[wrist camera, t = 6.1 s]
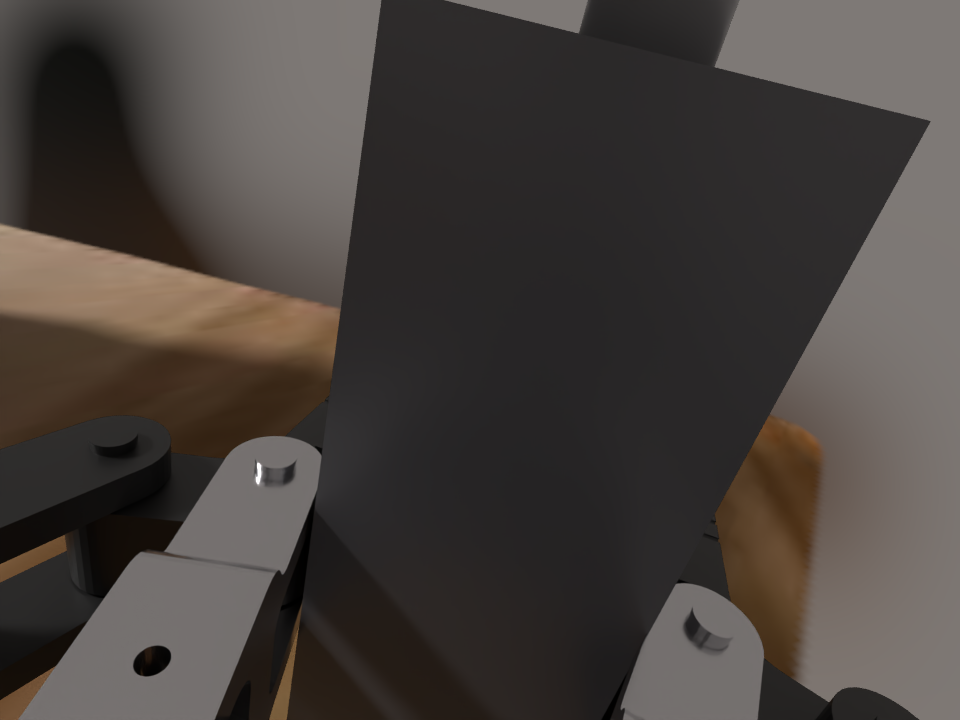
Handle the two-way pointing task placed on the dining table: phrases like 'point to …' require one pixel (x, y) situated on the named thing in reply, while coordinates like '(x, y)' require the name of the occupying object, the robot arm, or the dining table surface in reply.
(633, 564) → the plug
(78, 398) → the dining table surface
